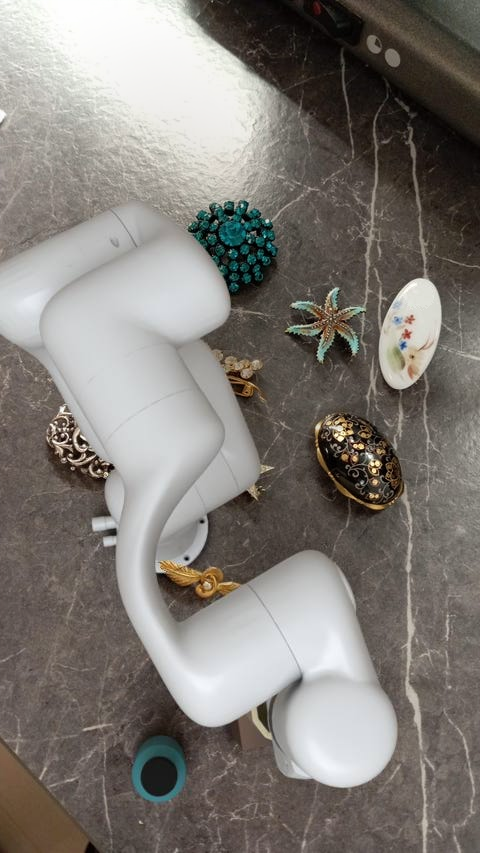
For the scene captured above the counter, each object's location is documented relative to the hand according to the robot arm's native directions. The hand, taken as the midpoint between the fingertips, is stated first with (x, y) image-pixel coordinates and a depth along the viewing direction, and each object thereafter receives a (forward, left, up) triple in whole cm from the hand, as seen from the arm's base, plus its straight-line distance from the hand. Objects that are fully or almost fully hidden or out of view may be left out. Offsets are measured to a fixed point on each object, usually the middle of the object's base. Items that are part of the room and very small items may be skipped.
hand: (289, 705), depth 88 cm
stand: (0, 0, -34) cm, 34 cm away
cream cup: (0, 0, -13) cm, 13 cm away
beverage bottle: (-14, -6, -34) cm, 37 cm away
